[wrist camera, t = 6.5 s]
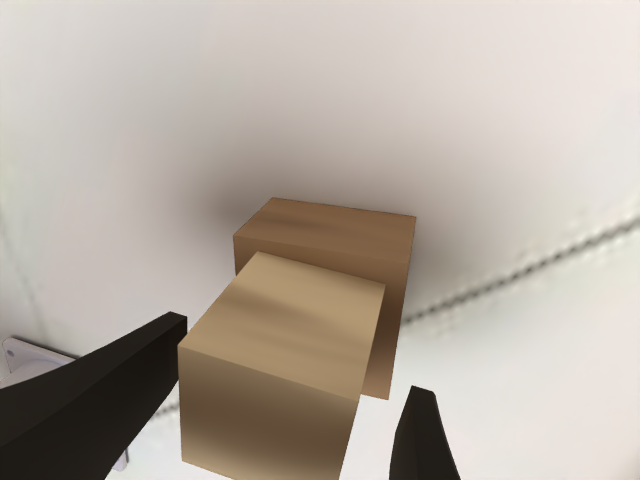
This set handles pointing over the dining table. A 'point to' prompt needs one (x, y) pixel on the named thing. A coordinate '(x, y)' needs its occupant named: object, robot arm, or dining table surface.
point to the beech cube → (277, 371)
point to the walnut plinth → (341, 260)
